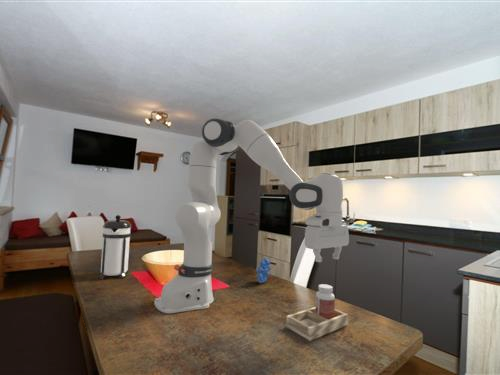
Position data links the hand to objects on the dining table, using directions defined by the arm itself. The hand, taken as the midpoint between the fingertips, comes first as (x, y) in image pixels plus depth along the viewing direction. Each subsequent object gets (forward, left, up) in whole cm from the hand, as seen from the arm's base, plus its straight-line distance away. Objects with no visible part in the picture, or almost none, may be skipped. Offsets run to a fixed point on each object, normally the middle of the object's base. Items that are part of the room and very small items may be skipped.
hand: (327, 260), depth 91 cm
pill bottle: (-1, 0, -20) cm, 20 cm away
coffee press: (-50, +90, -21) cm, 105 cm away
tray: (-4, 0, -21) cm, 21 cm away
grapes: (+9, +45, -21) cm, 50 cm away
